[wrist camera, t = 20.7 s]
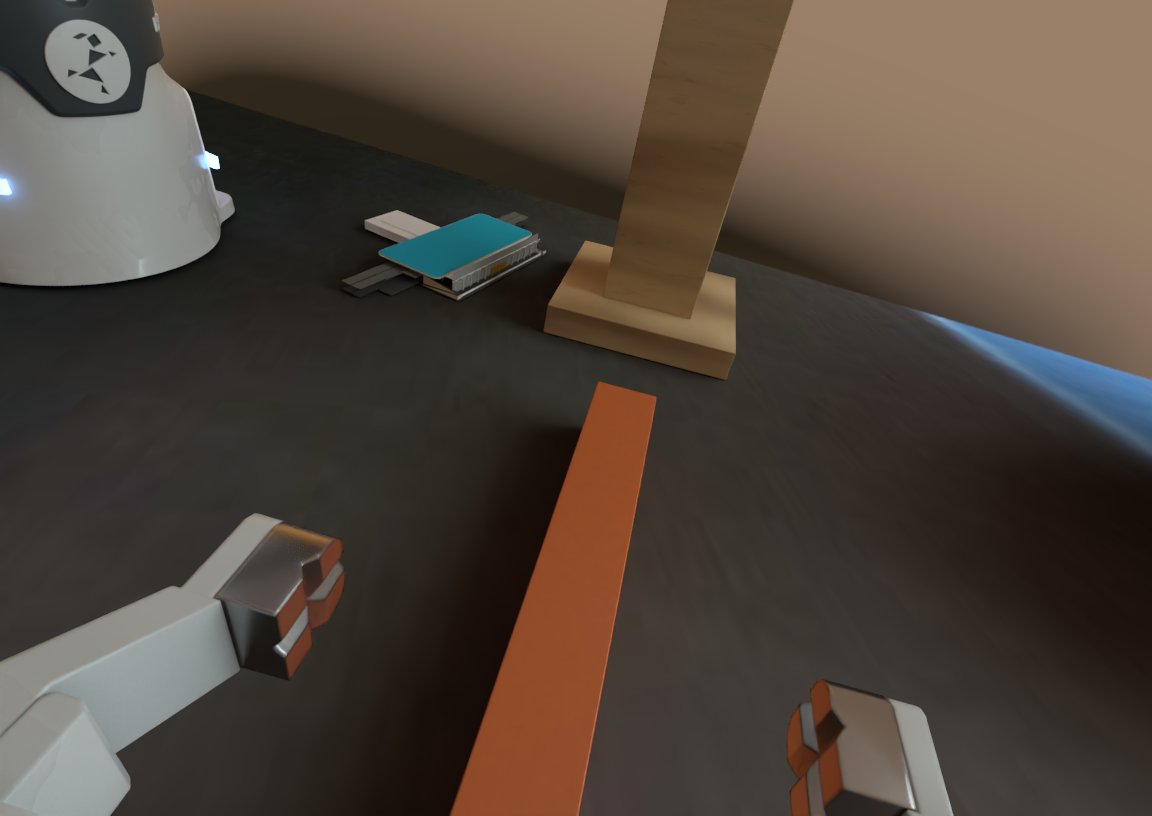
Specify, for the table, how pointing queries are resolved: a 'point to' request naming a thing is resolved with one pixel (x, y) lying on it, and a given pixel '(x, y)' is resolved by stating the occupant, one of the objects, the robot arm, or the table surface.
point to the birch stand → (678, 194)
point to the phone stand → (447, 254)
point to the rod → (563, 627)
